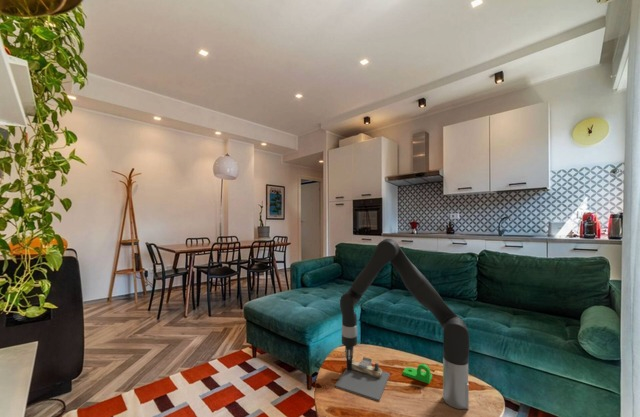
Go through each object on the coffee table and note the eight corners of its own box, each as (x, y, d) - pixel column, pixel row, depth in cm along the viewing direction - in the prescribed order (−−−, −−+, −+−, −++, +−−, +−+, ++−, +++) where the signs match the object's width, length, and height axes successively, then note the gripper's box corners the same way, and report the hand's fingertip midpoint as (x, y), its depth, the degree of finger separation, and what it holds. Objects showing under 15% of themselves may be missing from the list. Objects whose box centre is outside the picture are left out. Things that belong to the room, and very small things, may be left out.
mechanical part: (432, 378, 125) (432, 361, 125) (429, 385, 120) (429, 367, 120) (406, 369, 132) (406, 353, 132) (402, 376, 127) (402, 359, 127)
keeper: (371, 368, 131) (371, 358, 131) (367, 376, 125) (367, 366, 125) (363, 365, 133) (363, 356, 133) (358, 374, 127) (358, 364, 127)
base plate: (389, 375, 127) (389, 373, 127) (379, 402, 110) (379, 399, 110) (350, 364, 136) (350, 362, 136) (334, 387, 119) (334, 385, 119)
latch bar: (382, 373, 126) (382, 363, 126) (379, 379, 122) (379, 368, 122) (349, 363, 135) (349, 353, 135) (345, 367, 131) (345, 357, 131)
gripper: (357, 340, 122) (357, 378, 122) (357, 328, 135) (356, 362, 135) (341, 339, 123) (340, 377, 123) (342, 327, 136) (342, 361, 136)
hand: (349, 369), depth 129 cm, fingers closed
